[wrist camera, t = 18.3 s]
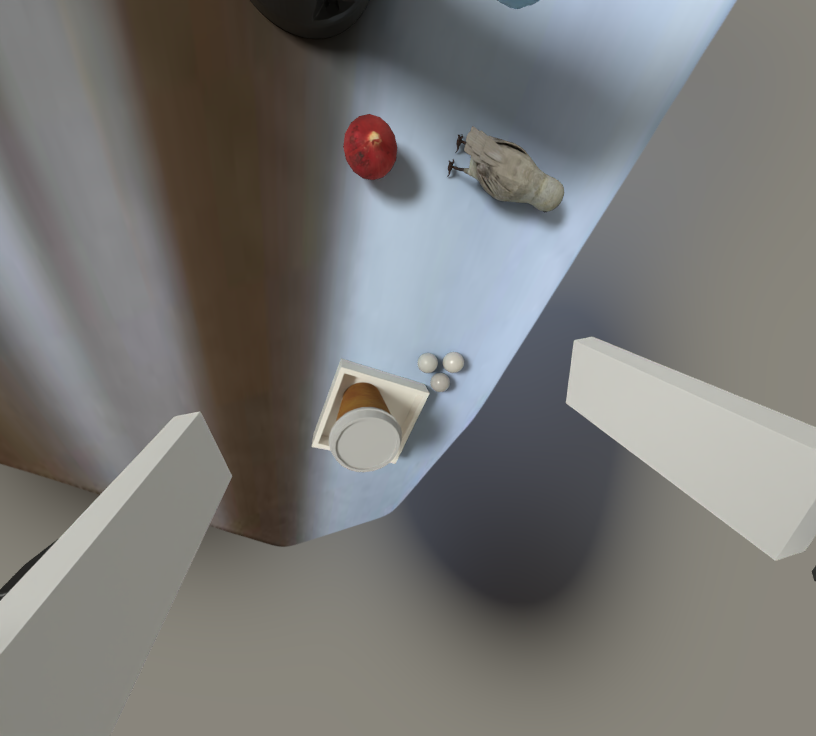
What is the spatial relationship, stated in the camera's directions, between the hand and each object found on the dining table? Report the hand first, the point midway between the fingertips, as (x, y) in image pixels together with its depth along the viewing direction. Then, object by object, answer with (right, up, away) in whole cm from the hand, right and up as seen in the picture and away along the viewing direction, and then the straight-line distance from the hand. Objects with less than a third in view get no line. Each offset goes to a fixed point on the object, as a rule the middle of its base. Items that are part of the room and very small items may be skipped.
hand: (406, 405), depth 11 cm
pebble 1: (+3, +3, +38) cm, 38 cm away
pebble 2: (+5, 0, +40) cm, 40 cm away
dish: (-7, -6, +40) cm, 41 cm away
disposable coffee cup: (-7, -4, +38) cm, 39 cm away
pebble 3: (+7, +3, +39) cm, 40 cm away
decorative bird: (+12, +27, +30) cm, 42 cm away
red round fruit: (-5, +27, +26) cm, 38 cm away
